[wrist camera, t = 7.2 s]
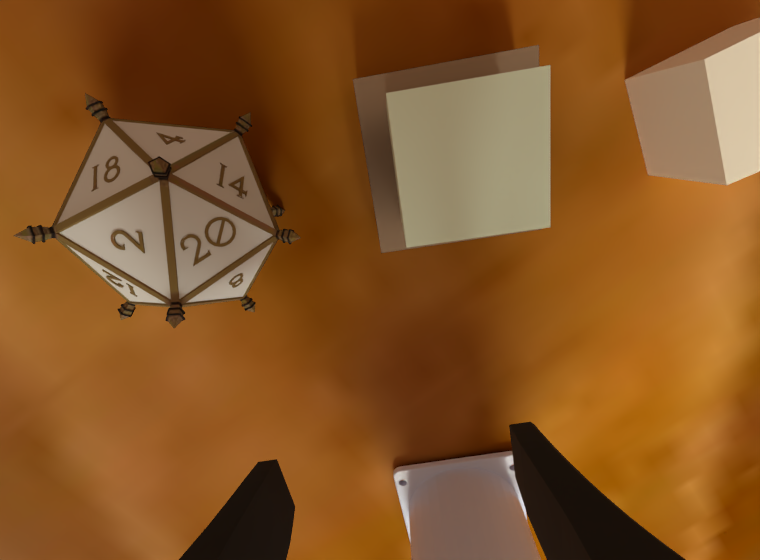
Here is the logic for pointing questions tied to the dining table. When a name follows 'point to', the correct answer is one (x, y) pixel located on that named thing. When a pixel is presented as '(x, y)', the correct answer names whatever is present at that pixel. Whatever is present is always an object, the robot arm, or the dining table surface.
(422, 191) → the sage cube
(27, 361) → the dining table surface
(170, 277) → the game die
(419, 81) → the walnut base
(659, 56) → the dining table surface
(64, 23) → the dining table surface
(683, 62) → the cream cube
